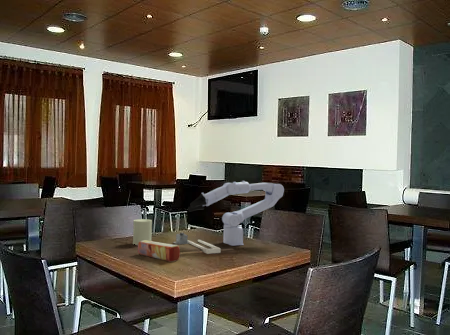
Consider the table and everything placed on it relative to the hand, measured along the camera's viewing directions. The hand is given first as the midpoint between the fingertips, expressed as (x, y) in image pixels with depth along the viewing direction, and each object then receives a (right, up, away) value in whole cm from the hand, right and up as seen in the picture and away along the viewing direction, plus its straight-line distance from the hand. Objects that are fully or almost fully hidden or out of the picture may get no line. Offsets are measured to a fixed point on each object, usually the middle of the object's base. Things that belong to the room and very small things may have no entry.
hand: (189, 207), depth 206 cm
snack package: (-12, -19, -25) cm, 34 cm away
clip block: (-4, -18, +5) cm, 19 cm away
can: (-24, -18, +6) cm, 31 cm away
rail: (+6, -19, -3) cm, 20 cm away
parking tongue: (-4, -19, +5) cm, 20 cm away
